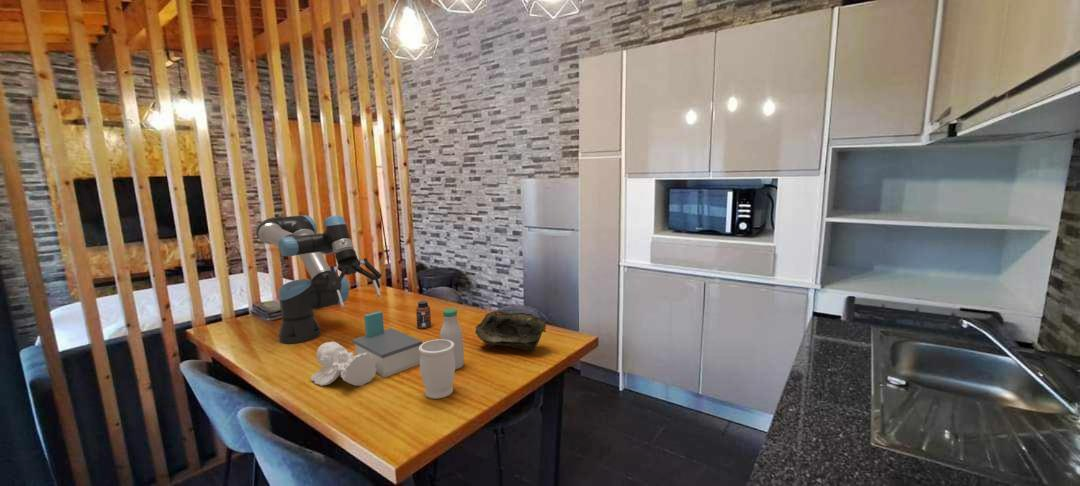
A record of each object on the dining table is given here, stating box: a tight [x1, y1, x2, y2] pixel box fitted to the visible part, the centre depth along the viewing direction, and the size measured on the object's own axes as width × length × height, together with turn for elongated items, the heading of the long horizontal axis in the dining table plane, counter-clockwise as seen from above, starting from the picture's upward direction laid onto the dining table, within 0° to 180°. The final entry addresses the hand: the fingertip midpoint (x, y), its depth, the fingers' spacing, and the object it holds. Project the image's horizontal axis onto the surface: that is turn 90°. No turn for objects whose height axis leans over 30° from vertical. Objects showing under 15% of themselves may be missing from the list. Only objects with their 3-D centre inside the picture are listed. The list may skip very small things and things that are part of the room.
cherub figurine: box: [310, 340, 377, 387], centre depth 138 cm, size 13×12×20 cm
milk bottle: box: [439, 308, 465, 370], centre depth 147 cm, size 8×8×20 cm
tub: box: [354, 344, 421, 378], centre depth 151 cm, size 20×14×7 cm
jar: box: [419, 338, 456, 400], centre depth 129 cm, size 11×10×15 cm
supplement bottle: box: [415, 300, 432, 330], centre depth 187 cm, size 6×6×11 cm
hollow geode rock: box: [475, 311, 547, 352], centre depth 164 cm, size 28×13×15 cm
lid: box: [352, 310, 423, 358], centre depth 150 cm, size 21×15×10 cm
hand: (361, 301), depth 165 cm, fingers open, 13 cm apart
